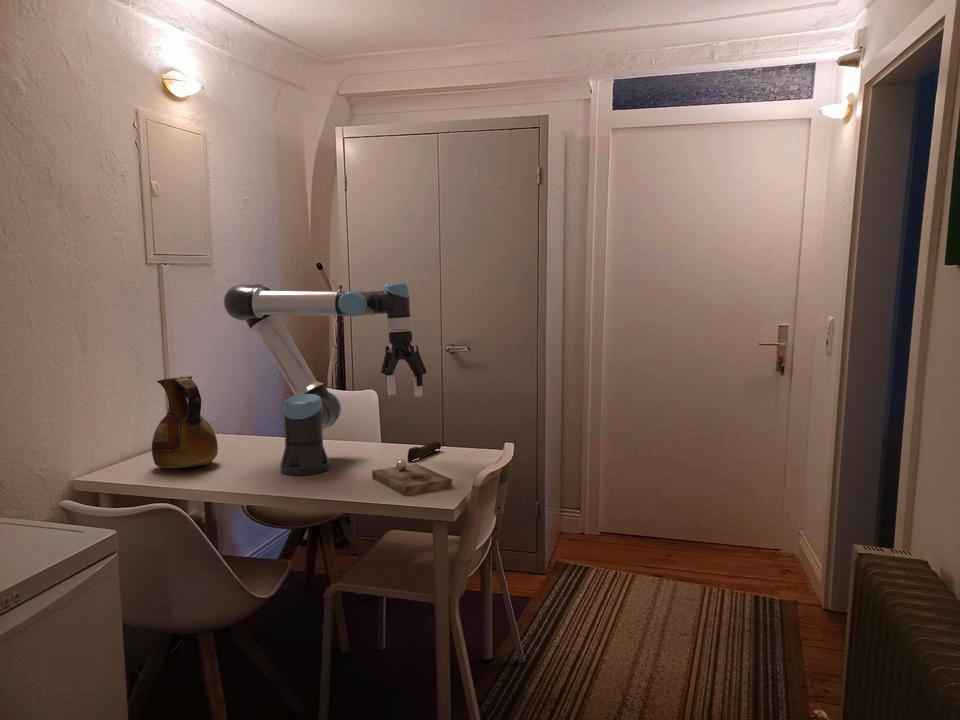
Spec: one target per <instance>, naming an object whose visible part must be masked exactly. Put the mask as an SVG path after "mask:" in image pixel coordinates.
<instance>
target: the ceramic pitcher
mask: <svg viewBox="0 0 960 720" xmlns="http://www.w3.org/2000/svg"><path fill="white" fill-rule="evenodd" d="M156 382H157V383H158V384H159V385H160V386H161V387H162V388H163V389H164V391H165V393H166V398H167V401H168V402H167V403H168V410H167V414H166V415H165V416H164V417H163V418H162V419H161V420H160V421H159V422H158V425H157V426H156V428H155V431H154V434H153V437H152V442H151V455H152V459H153V463H154V465H155V466H156V467H159V468H165V469H185V468H190V467H191V468H192V467H198V466H202V465H208V464H211V463H212V462H213V461H214V460H215V458H216V457H217V455H218V448H219V447H218V439H217V436H216V433H215V431H214V429H213V428H212V426H211V424H210V423H209V422H208V420H207V419H205V418H204V417H203V415H201V411H202V396H201V394H200V390H199V387H198V385H197V384H196V382H195V381H194V380H193V376H192V375H188V376H182V375H181V376H179V377H174V378H173V377H171V378H164V379H160V380H156Z"/></svg>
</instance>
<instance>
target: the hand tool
mask: <svg viewBox="0 0 960 720" xmlns="http://www.w3.org/2000/svg"><path fill="white" fill-rule="evenodd" d="M440 448H441V449H442V445H441V443H440V442H439V441H435V440H433V441H431V443H427V444H425V445H422V446H420V447H419V446H413V447H410V448H409V449H408V451H407V462H408V461H412V460H414V459H417V458H420V457H421V458H423V457H425V456H424V455H426V456H428V455H427V454H429V453H431V452H434V451H435V450H436V449H440ZM431 454H432V453H431ZM429 455H430V454H429ZM422 456H423V457H422ZM421 458H420V459H421Z"/></svg>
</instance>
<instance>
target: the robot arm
mask: <svg viewBox="0 0 960 720" xmlns="http://www.w3.org/2000/svg"><path fill="white" fill-rule="evenodd" d="M409 295H410V294H409V285H408V284H406V283H403V282H397V283H387V284H385V286H384V290H378V291H377V290H373V291H356V290H354V291H353V290H351V291H350V290H349V291H344V290H343V291H337V290H336V291H335V290H334V291H332V290H331V291H330V290H329V291H326V290H324V291H323V290H321V291H318V290H273V288H271V287H269V286H266V285H263V284H258V283H257V284H237V285H234V286H232V287H230V288H229V289H228V291H226V293H225V295H224V298H223V306H224V309H225V310H226V312H227V313H228V315H229V316H230V317H232V318H233V319H235V320H238V321H245V322H246V324H247V326H248V327H249V329H250V331H252V332H256V333H257V334H258V336H259V337H260V338H261V340H262V342H263V344H264V346H265V347H266V348H267V351H268V352H269V354H270V355H271V357H272V359H273V361H274V363H275V364H276V365H277V367H278V369H279V371H280V372H281V374H282V376H283V378H284V380H285V381H286V383H287V385H288V386H289V388H290V389H291V391H292V393H293V396H290V397H288V398H287V399H285V401H284V403H283V412H282V413H283V419H284V420H283V423H284V425H283V426H284V449H283V454H282V457H281V460H280V465H279V469H280V470H279V471H280V473H281V474H284V475H289V476H309V475H310V476H311V475H316V474H317V475H318V474H320V473H324V472H326V471H328V470H329V469H330V460H329V458H328V456H327V453H326V449H325V447H324V441H323V440H324V438H323V437H324V435H323V433H324V432H323V430H324V429H327V428H329V427H331V426H333V425H334V424H335V423H336V422H337V420H339V418H340V416H341V413H342V406H341V402H340V400H339V398H338V397H337V396H336V395H335V394H334V393H332V392H329V390H328V389H327V387H326V386H325V384H324V382H320V381H317V379H316V377H315V376H314V374H313V373H312V370H311V369H310V367H309V365H308V363H307V362H306V360H305V359H304V357H303V355H302V354H301V351H300V350H299V348H298V347H297V345H296V343H295V341H294V340H293V338H292V337H291V335H290V333H289V331H288V329H287V328H286V326H285V324H284V323H283V321H282V318H283V316H340V317H341V316H342V317H345V316H346V317H360V316H361V317H363V316H370V315H371V316H372V315H381V314H383V315H384V314H386V317H387V330H388V340H389V344H391V345H388V346H387V345H386V346H385V354H384V357H383V362H382V367H381V371H380V372H381V374H384V375H385V380H386V386H387V394H388V396H394V395H397V392H396V391H397V389H396V376H395V373H394V372H395V370H396V367H397V365H398V363H399V361H400V360H404V362H406V363H407V364H408V367H409V368H410V370H411V371H412V373H413V377H412V378H413V388H414V397H415V398H419V397H423V395H424V394H423V375H426V374H427V373H428V372H427V368H426V366H425V364H424V362H423V360H422V357H421V354H420V351H419V346H418V345H417V344H414V345H411V343H412V342H413V331H412V330H411V329H412V320H411V307H410V306H411V305H410V296H409Z"/></svg>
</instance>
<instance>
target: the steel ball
mask: <svg viewBox="0 0 960 720" xmlns="http://www.w3.org/2000/svg"><path fill="white" fill-rule="evenodd" d="M407 465H408V461H406V460H404V459H401V460H400V459H399V460H398V461H397V462H396V467H397V468H398V469H399V470H401V471H403V470H405V469H406V468H407Z"/></svg>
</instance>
